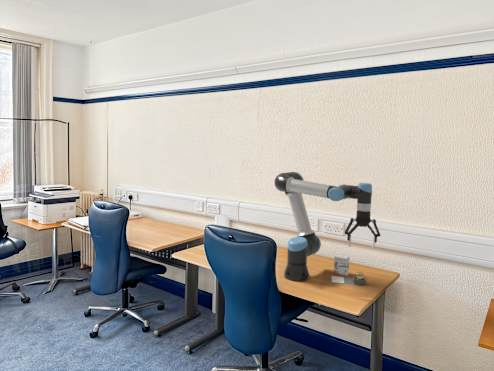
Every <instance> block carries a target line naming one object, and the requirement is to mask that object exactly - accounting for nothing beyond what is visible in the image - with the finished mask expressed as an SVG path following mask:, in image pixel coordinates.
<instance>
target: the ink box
mask: <svg viewBox="0 0 494 371" xmlns="http://www.w3.org/2000/svg"><path fill="white" fill-rule="evenodd" d="M333 260H334V261H333V274H336V275H341V276H348V275H349V273H350V256H348V255H347V256H346V255H341V254H336V255H334V259H333Z"/></svg>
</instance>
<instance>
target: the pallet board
mask: <svg viewBox="0 0 494 371" xmlns="http://www.w3.org/2000/svg"><path fill="white" fill-rule="evenodd" d="M330 283H332V284H345V285H354V277H345V276H336V275H335V276H334V275H331V276H330ZM363 286H366V284H365V285H363Z"/></svg>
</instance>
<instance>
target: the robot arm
mask: <svg viewBox="0 0 494 371" xmlns="http://www.w3.org/2000/svg"><path fill="white" fill-rule="evenodd" d="M274 186H275V189H277V190H278V191H280V192H284V195H285V196H286V197H288V200H289V205H290V208H291V211H292V215H293V219H294V222H295V226H296V229H297V235H296V237H295V236H294V237H291V238H289V240H288V241H287V261H286V263H287V264H286V267H285V269H284V271H283V272H284V273H283V277H284V278H285V279H287V280H290V281H295V282H300V281H301V282H303V281H307V280H308V279H309V278H310V272H309V269H308V266H307V265H308V263H307V261H308V257H310V256H313V255H315V254H317V252H319V251H320V249H321V248H322V242H321V239H320V237H318V236H317V235H316V232H315V231H314V230H312V227H311V224H310V219H309V217H308V212H307V208H306V205H305V200H304V198H303V194H304V195H308V196H314V197H318V198H319V197H320V198H324V199H329V200H330V201H332V202H340V201H343V200H347V199H354V200H357V202H356V209H357V210H356V217H355V218H353V217H350V221H349V223H348V225H347V226H346V227H345V230H344V234H345V235H347V236H346V237H347V242H348V246H349V247H350V248H351V246H352V234H353V232H354V231H355V230H357V228H358V227H363V228H365V227H367V228H368V229H369V231H370V232H371V233H372V235H373V236H372V244H371V245H372V246H371V248H372V249H375V245H376V243H377V241H378V237H381V232H380V230H379V228H378V226H377V220H376V219H375V218H373V219H371V213H372V212H371V210H372V209H371V208H372V195H373V194H372V193H373V185H372V183H369V182H359V183H358V185H350V184H339V185H337V186H336V185H330V184H326V183H325V184H324V183H319V182H313V181H307V180H304V177H303V176H302V175H301V174H300V173H299V172H296V171H289V172H281V173H279V174H277V175H276V177H275V179H274ZM354 222H356V223H355V225H354V226H353V224H354ZM370 223H372V224H373V226H374V228H375V231H374V230H373V228H372V227H371V225H370ZM351 226H353V227H352V228H351ZM350 228H351V229H350Z"/></svg>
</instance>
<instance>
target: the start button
mask: <svg viewBox="0 0 494 371" xmlns="http://www.w3.org/2000/svg"><path fill="white" fill-rule="evenodd" d="M364 275H365V273H364V272H363V271H356V272H355V276H356V279H360V280H363V277H364Z"/></svg>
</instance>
